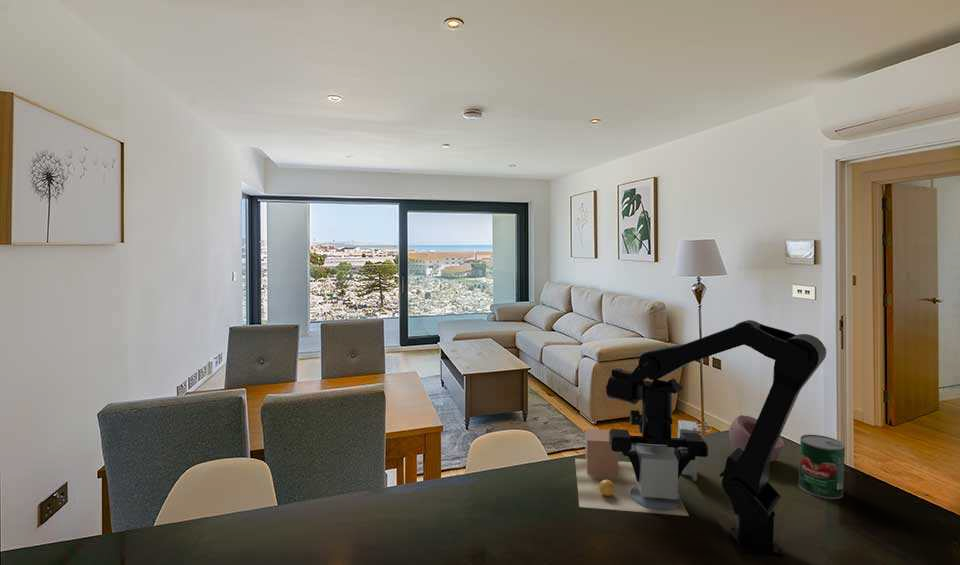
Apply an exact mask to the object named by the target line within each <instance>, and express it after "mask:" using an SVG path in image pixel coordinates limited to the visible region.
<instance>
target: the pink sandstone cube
mask: <svg viewBox="0 0 960 565" xmlns="http://www.w3.org/2000/svg"><path fill="white" fill-rule="evenodd" d="M610 430H611V429H598V428H597V429H595V428H585V430H584V433H585V434H584V436H585V438H584V439H585V440H584V442H585V443H584V444H585V450H584V452H585V454H584V455H585V456H584V457H585V458H584V459H585V462H586V469H587V474H600V475H615V476H618V461H619V452H615V451H612V450H611V446H610V442H609V431H610Z"/></svg>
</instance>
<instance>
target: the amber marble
mask: <svg viewBox="0 0 960 565" xmlns="http://www.w3.org/2000/svg"><path fill="white" fill-rule="evenodd" d="M599 489H600V492H601V493H602V494H603V495H605V496H610V495H612V494H613V493H614V490H615V487H614V484H613V483H612V482H611V481H610V480H603V481H601V482H600V484H599Z"/></svg>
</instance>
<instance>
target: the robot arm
mask: <svg viewBox="0 0 960 565" xmlns="http://www.w3.org/2000/svg"><path fill="white" fill-rule="evenodd" d="M741 346H747V347H749V348H751V349H752V350H754V351H755V352H758V353H759V354H762V355H763V356H764V357H767V358H769V359H772V360H774V365H773V372H772V373H773V377H772V385H771V387H770V389H769V392H768V394H767V395H766V396H767V397H766V399H765V401H764V404H763V405H762V408H761V410H760V411H759V412H760V413H759V415H758V418H756V419H757V422H756V424H755V426H754V429H753V431H752V433H751V436H750V438H749V440H748V443H747V445H746V447H745V450H744V451H743V450H741V449H740V448H737V449H736V450H734V451H733V452H731V454H729V455H728V456H727V458H726V461H725V466H724V469H723V471H721V473H719V477H723V478H722V480H721V488H722V489H723V491H724V493H725V495H727V497H728V499H729V501H730V504H731V506H732V509H733V512H734V514H735V515H737V527H730V528H729V530H730V533H731V535H732V536H733V537H734V540H736V542H737V544H738V546H739V547H740V549H741V550H742V551H743V552H746V553H756V554H766V555H777V556H782V555H784V552H783V550H782V548H781V547H780V546H779V545H778V543H777V542H776V541H775V531H776V530H775V529H776V513H775V511H774V510H775V508H776V507H777V506H778V504H779V503H780V501H781V499H782V496H781V494H780V493H779V492H778V491H777V490H776V488H775V487H774V486H773V484H771V482H769V475H770V469H771V462H770V458H771V454H772V452H773V450H774V448H775V445H776V443H777V441H778V439H779V437H781V435H782V432H783V430H784V428H785V425H786V423H787V421H788V419H789V416H790V414H791V412H792V410H793V407H794V405H795V404H796V401H797V399H798V397H799V394H800V392H801V390H802V389H803V387H805V385H806V383H808V382H809V380H810V378H811V377H812V376H813V375H814V373H815V372H816V371H817V370H818V368H819V367H820V365H822V363H823V362H824V361H825V359H826V356H827V347H826V346H825V345H824V343H823V342H822V340H820V339H819V338H818V337H816V336H814V335H813V334H807V333H798V334H794V333H792V332H789V331H787V330H785V329H784V330H783V329H779V328H776V327H772V326H768V325H765V324H762V323H759V322H757V321H755V320H752V319H746V320H743V321H741V322H738V323H736V324H734V326H731V327H728V328H726V329H723V330H721V331H720V330H719V331H718V332H717V331H716V332H714V333H712V334H709V335H706V336H703V337H701V338H697V339H695V340H692V341H689V342H687V343H683V344H674V345H669V346H668V345H667V346H663V347H662V346H661V347H657V348H655V349H651V350H648V351H646V352H643V353H642V354H641V355H640V356H639V359H638V365H637V366H636V367H635V368H634V370H633V371H629V370H623V369H622V368H618V367H617V368H614V369H611V375H610V376H609V378H608V380H607V383H606V385H605V386H606V387H605V392H606V396H607V398H609V399H611V400H615V401H619V402H623V403H627V404H631V405H636V404H637V403H638V402H640V401H642V402H641V403H642V404H641V405H642V406H641V408H642V409H641V413H640V410H635V409H630V410H629V424H630V425H631V426H638V431H639V434H641V435H632V434H630V431H629V430H628V429H621V428H620V429H618V428H611V429H609V430H610V431H609V442H610V446H611V450H612V451H615V452H618V453H622V455H623V456H624V457H628V459H629V462H631V463H632V466H633V469H634V473H635V476H636V479H637V481H638V482H639V475H640V473H639V461H638V453H637V451H636V445H637V446H654V447H670V448H671V449H672V448H673V453H674V454H675V456H676V458H677V460H678V480H679V478H680V477H681V475H682V474H681V473H682V471H683V470H684V468H685V467H686V466H687V464H688V463H689V462H690V461H691V460H695V456H697V457H698V458H699V457H702V458H707V457H709V446H708V444H707V442H706V441H705V439H704V438H703V437H702V435H700V433H699V434H698V433H682V432H681V434H680V438H677V437H672V425H673V419H672V416H673V415H672V414H673V413H672V412H673V410H672V407H673V406H672V405H673V401H672V400H673V399H672V398H673V394H678V393H679V392H681V391H682V390H684V387H683V386H682V385H681V384H680V383H679V382H678V381H677V380H676V378H674V377H673V378H670V379H669V380H664V379H662V378H664V377H666V376H668V375H671V374H672V373H674V372H675V371H677V370H679V369H681V368H683V367H685V366H686V365H688V364H690V363H693V362H695V361H698V360H702V359H704V358H708V357H710V356H713V355H716V354H720V353H722V352H725V351H728V350H731V349H734V348H738V347H741ZM647 379H649V380H651V381H649V380H647Z"/></svg>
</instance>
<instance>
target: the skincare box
mask: <svg viewBox="0 0 960 565" xmlns="http://www.w3.org/2000/svg"><path fill="white" fill-rule="evenodd" d="M681 432H682V433H698V434H699V435H700V431H699V425H698V423H697V421H691V420H679V419H678V420H677V437H676V438H680V434H681ZM698 459H699V457H697V456H695V460H691V461H690V462H689V463H688V464H687V466H686V467H685V468H684V470H683V471H682V473H681V475H684V476H685V475H686V476H690V478H691V479H692V480H693V481H695V482H696V481H697V479H698V463H699V462H698V461H699V460H698Z"/></svg>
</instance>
